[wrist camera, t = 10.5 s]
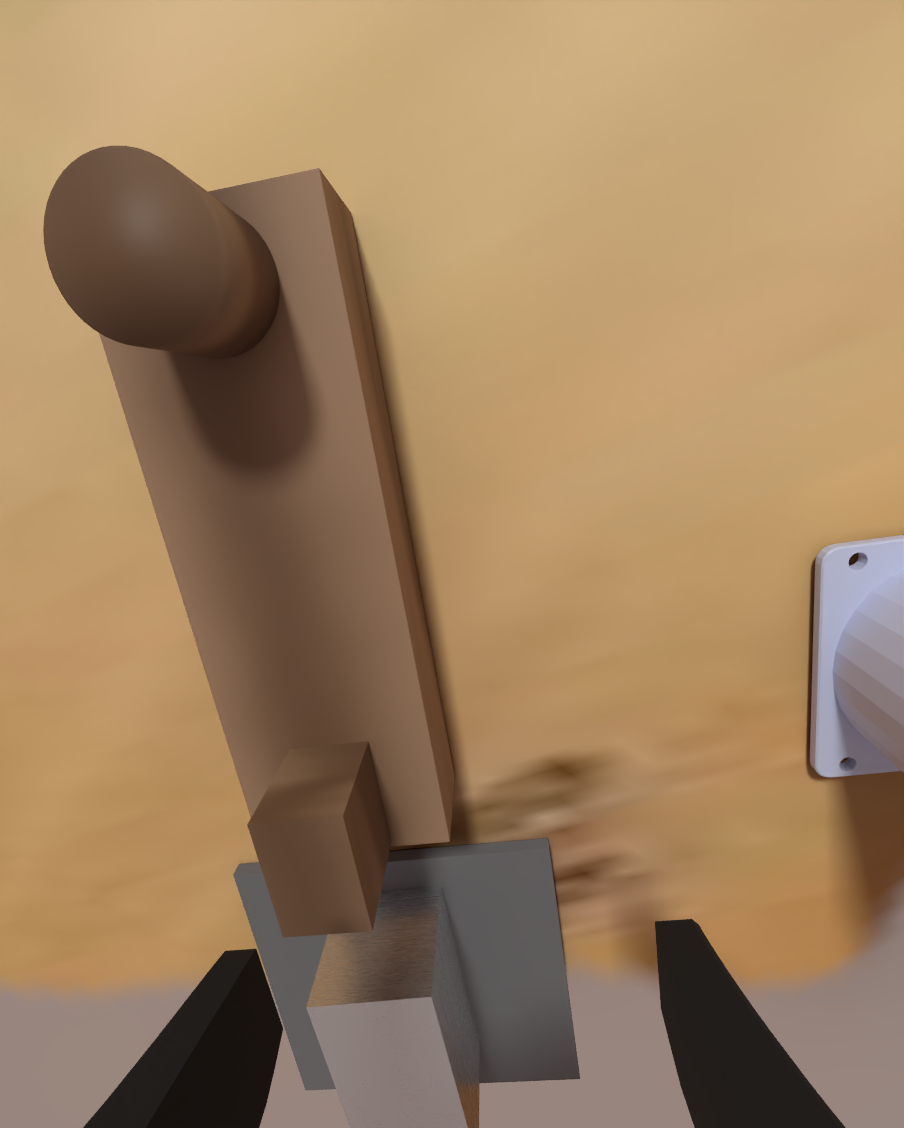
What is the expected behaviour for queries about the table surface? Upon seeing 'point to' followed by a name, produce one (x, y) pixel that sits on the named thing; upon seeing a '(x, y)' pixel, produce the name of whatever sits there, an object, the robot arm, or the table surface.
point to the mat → (485, 946)
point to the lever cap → (399, 1018)
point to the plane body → (272, 505)
